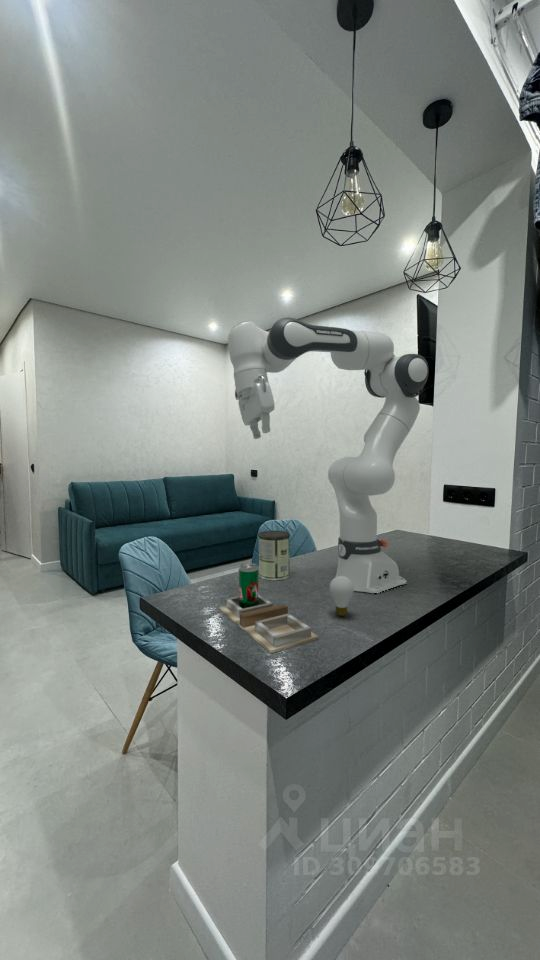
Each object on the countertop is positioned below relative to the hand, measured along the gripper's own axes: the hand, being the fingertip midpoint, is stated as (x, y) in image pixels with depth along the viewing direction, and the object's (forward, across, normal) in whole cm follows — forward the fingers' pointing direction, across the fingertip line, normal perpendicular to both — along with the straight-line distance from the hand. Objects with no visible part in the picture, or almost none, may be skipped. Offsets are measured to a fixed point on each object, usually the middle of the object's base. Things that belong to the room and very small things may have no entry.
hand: (261, 435), depth 105 cm
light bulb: (+49, -10, -8) cm, 50 cm away
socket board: (+45, -9, +11) cm, 47 cm away
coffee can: (+43, +25, -2) cm, 50 cm away
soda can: (+44, -1, +13) cm, 46 cm away
